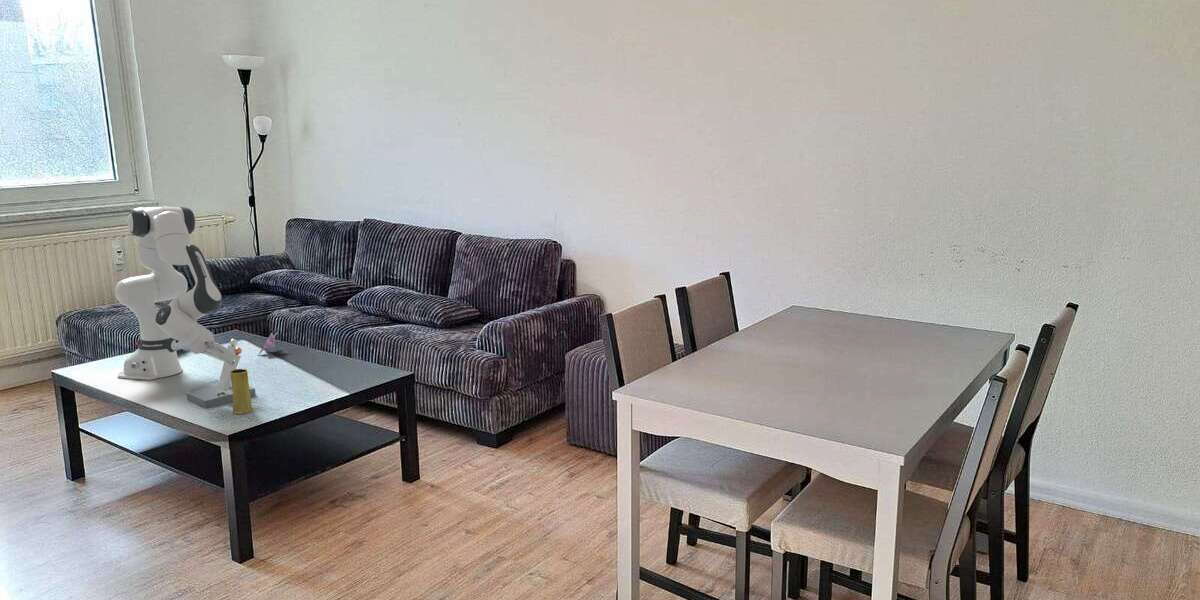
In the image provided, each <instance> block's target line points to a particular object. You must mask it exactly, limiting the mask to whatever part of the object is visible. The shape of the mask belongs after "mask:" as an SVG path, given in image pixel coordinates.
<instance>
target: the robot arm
mask: <svg viewBox="0 0 1200 600" xmlns="http://www.w3.org/2000/svg"><path fill="white" fill-rule="evenodd" d="M126 224H127V227H128V231H129V232H130V233H131V234H132V235H133V236H135V237H137V254H136V256H137V257H136V259H137V261H138V264H140V265H141V266H142V267H144V268H146V269H147V270H151V272H150V273H148V274H144V275H143V274H142V275H136V276H130V277H127V278H124V279H121V280H119V281H118V282H117V284H116V285H115V288H114V295H115V298H116V300H117V301H118V302H119V304H121V305H123V306H125V307H127V308H129V309H130V310H131V312H132V313H134V315H135V316H136V318H137V320H138V325H139V324H140V329H141V336H142V339H140V338H139V340H138V341H136V342H135V346H138V348H137V349H136V350H135V351H133V353H131V354H130V355H129V356H128V357H126V359H125V360H124V363H123V370H121V371H120V372H118V374H117V378H119V379H133V380H147V381H148V380H149V381H151V380H156V379H160V378H165V377H169V376H170V377H171V376H174V375H177V374H179V373H181V372H183V368H182V365H181V364H180V360H179V357H178V352H177V351H176V340H178V341H180V342H181V344H182V347H185V348H186V349H187V350H189V351H190V352H192V353H193V354H195V355H198V354H203V355H206V356H208V357H211V358H213V359H216V360H219V361H222V362H223V363H224V362H225V363H227V364H230V365H231V364H232V363H233V359H234V358H235V356H236V355H235V354H234V353H233V352H231V351H230V350H228V349H227V348H228V347H225V346H224V345H222V344H220V343H218V342H216V341H215V338H214V333H213V332H212V331H211V330H209V329H207V327H205V326H204V325H202V324H200V323H198V320H199V319H200V318H203V317H204V316H206V315H209V314H211V313H214V312H216V311H218V310H219V309H220V308H221V306H222V302H223V295H222V293H221V291H220V289H219V288H218V286H217V285H216V283H215V281H214V278H213V275H212V273H211V269H210V268H209V265H208V263H207V260H206V258H205V256H204V254H203V252H202V250H201V249H200V248H199V247H198V246H197V245H194V244H193V243H192V241H191V237H190V235H191V234H192V233H193V232H194V231H195V228H196V216H195V214H194V212H193V210H191V208H188V207H185V206H184V207H183V206H179V207H178V206H170V205H169V206H167V205H166V206H165V205H164V206H162V205H161V206H149V207H143V206H141V207H136V208H132V209H131V210H130V211H129V212H128V216H127V220H126ZM173 265H174V266H187V265H188V267H189V270H190V272H191V275H192V277H193V279H194V283H195V284H194V286H193V287H192V289H190V290H188V280H187V279H186V278H187V277H185V276H184V275H183V274H182V273H181V272H179V271H177V269H175V267H174V266H173ZM166 301H167V302H168V301H170V302H169V303H168V304H165V305H163V306H162V307H161V308H160V309H157V308H156V305H155V303H161V302H166Z"/></svg>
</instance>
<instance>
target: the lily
mask: <svg viewBox="0 0 1200 600" xmlns="http://www.w3.org/2000/svg"><path fill="white" fill-rule="evenodd" d="M278 333H279V331H277V332H276V333H275V334H273V332H271V333H270V335H269V336H268V338H267V340H265V344H264V346H263V347H262V348H261V350H260V351H259V353H258V355H257V356H260V355H261V353H262V352H263V351H264V350H265V352H267V351H268V350H269V349H270V348H275V349H276V350H277V351H278V353H281V351H280V350H279V348H277V346H275V339H276V336H277V334H278Z"/></svg>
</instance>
